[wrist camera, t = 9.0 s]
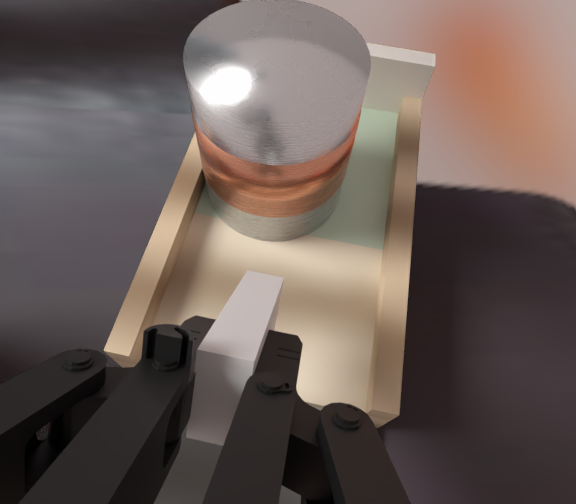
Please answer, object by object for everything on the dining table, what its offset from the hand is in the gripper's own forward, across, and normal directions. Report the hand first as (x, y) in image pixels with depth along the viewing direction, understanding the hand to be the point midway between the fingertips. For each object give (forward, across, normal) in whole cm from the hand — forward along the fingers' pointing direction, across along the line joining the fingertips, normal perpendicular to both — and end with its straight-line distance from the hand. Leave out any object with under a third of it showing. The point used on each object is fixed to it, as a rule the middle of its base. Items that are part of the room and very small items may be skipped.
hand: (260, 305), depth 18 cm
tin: (+10, -1, +3) cm, 11 cm away
